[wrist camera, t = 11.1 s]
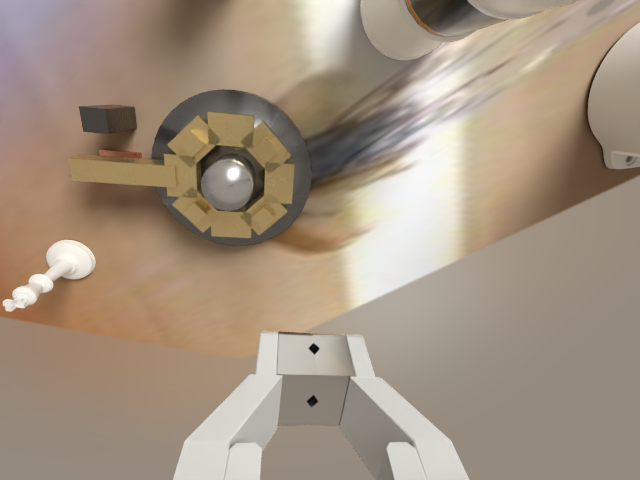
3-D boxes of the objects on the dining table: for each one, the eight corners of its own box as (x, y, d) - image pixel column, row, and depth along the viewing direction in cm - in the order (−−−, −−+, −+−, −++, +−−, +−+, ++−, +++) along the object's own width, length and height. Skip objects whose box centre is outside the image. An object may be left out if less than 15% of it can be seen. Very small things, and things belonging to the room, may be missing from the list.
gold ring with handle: (296, 119, 32) (298, 121, 29) (288, 232, 36) (289, 244, 34) (72, 96, 29) (48, 96, 26) (95, 222, 34) (77, 234, 31)
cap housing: (315, 98, 34) (324, 99, 27) (303, 238, 41) (308, 269, 33) (87, 74, 31) (29, 68, 24) (113, 229, 38) (72, 261, 30)
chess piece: (47, 236, 37) (-29, 281, 28) (95, 243, 38) (36, 289, 29) (50, 273, 39) (-20, 327, 30) (96, 279, 40) (41, 334, 31)
